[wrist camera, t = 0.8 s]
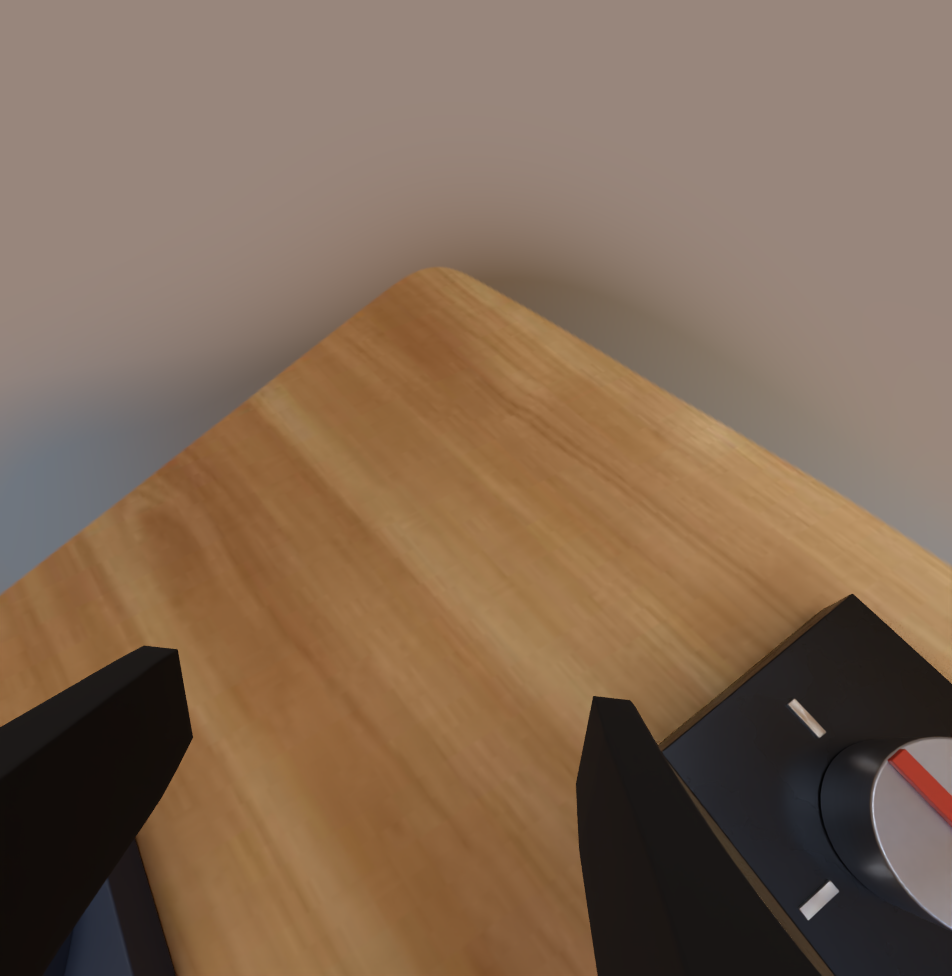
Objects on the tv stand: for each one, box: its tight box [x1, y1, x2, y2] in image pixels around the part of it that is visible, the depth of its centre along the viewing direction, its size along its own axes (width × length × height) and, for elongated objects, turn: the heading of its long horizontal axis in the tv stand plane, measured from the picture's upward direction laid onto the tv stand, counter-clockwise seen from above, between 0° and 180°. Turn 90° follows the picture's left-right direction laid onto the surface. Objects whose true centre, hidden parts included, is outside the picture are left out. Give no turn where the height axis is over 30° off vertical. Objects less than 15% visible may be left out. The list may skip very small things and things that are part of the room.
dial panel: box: [658, 594, 952, 976], centre depth 20 cm, size 12×10×3 cm
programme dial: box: [821, 736, 952, 931], centre depth 17 cm, size 5×5×4 cm
